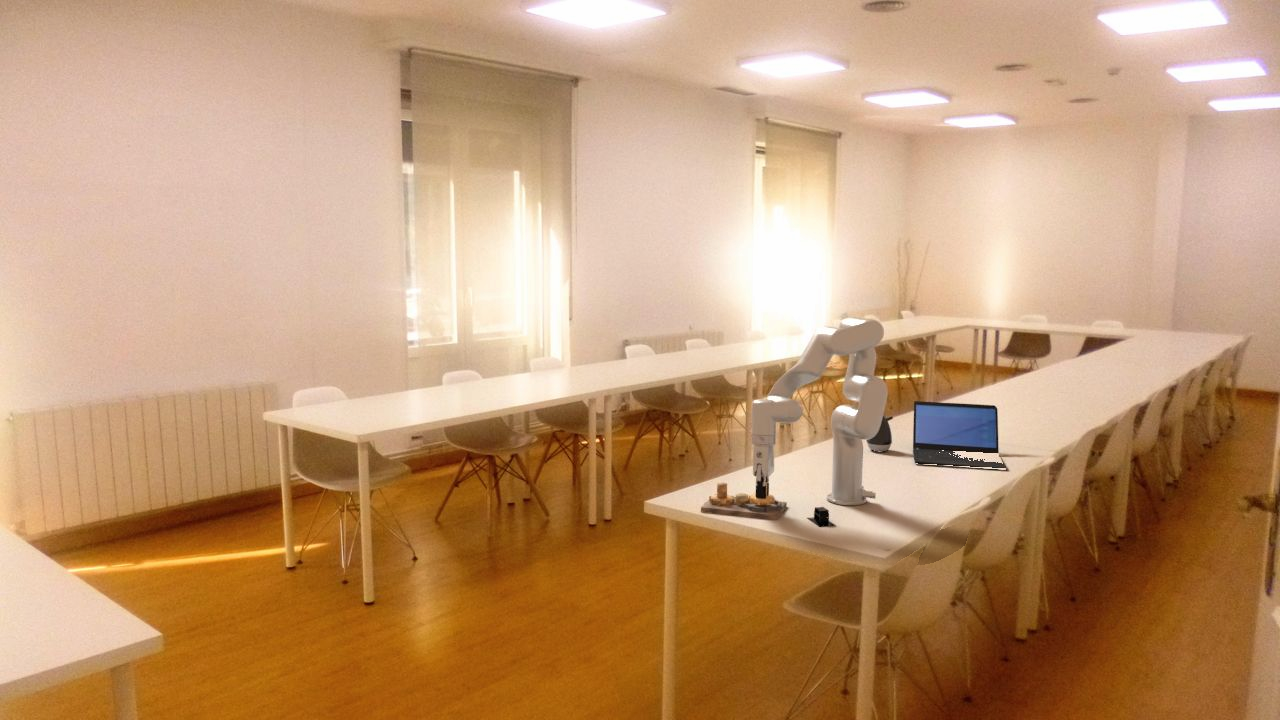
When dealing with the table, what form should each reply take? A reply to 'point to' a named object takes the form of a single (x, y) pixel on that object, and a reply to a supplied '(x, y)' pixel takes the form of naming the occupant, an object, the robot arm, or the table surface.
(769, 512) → the carrier
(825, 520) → the black slotted bracket
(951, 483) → the table surface
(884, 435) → the pump dispenser
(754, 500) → the gear
